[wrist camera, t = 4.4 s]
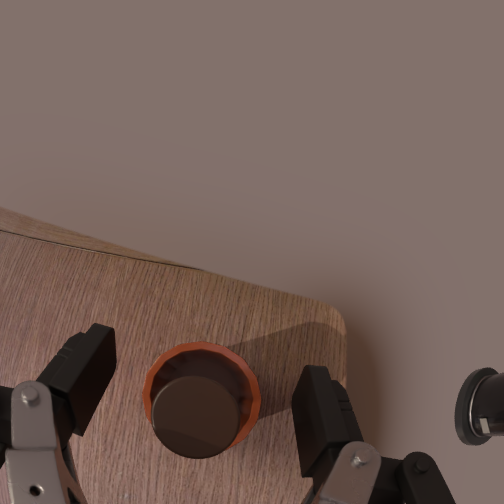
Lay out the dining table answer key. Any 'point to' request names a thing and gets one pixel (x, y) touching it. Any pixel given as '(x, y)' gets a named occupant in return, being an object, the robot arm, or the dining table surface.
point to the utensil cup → (209, 366)
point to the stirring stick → (195, 417)
